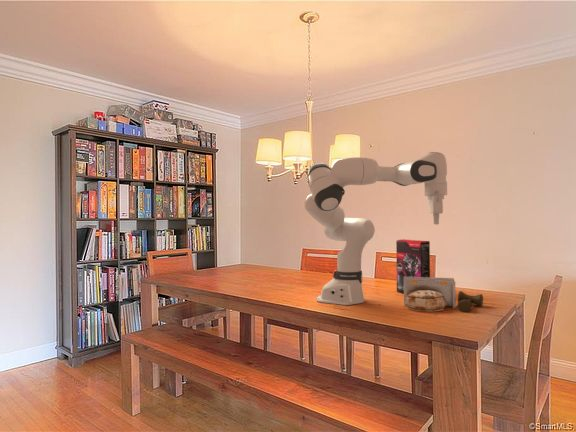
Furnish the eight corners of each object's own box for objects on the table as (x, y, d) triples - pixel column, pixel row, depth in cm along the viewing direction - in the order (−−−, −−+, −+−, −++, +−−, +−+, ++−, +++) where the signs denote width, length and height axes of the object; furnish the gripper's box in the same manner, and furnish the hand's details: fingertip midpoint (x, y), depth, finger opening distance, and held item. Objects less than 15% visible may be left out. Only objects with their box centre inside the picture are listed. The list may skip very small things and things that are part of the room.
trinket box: (451, 310, 155) (450, 291, 155) (423, 315, 149) (423, 295, 149) (427, 303, 167) (427, 286, 167) (400, 307, 161) (400, 289, 161)
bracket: (404, 305, 164) (403, 278, 164) (404, 302, 169) (403, 276, 169) (455, 308, 158) (455, 280, 158) (453, 305, 163) (453, 278, 163)
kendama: (451, 311, 155) (461, 301, 171) (476, 316, 149) (484, 304, 165) (451, 297, 155) (461, 288, 171) (477, 301, 149) (485, 291, 165)
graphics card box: (395, 292, 192) (394, 239, 192) (405, 290, 195) (404, 239, 195) (421, 298, 177) (420, 241, 177) (431, 296, 180) (430, 240, 180)
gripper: (446, 190, 145) (446, 225, 145) (441, 192, 164) (442, 223, 164) (429, 190, 147) (429, 225, 147) (426, 192, 166) (426, 223, 166)
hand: (436, 224), depth 156 cm, fingers closed
